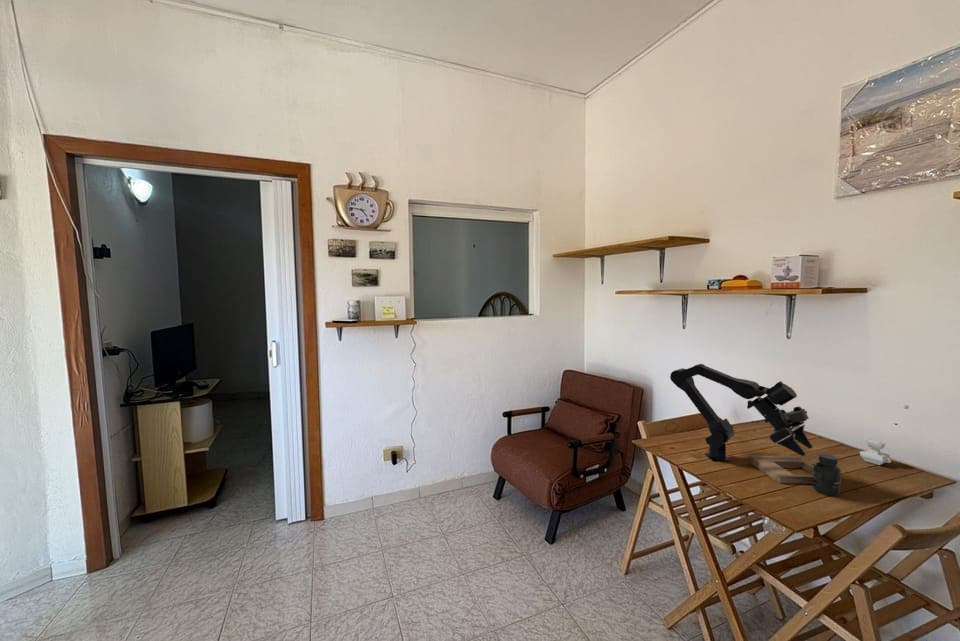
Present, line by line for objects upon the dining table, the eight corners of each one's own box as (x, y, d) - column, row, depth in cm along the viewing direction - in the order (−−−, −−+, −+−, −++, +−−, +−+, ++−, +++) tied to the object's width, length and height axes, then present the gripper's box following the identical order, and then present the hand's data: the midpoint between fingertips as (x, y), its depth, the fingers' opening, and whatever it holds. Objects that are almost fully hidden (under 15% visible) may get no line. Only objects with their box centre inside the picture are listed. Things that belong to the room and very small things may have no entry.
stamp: (894, 465, 150) (896, 444, 149) (886, 469, 147) (888, 447, 146) (863, 456, 158) (864, 436, 157) (855, 459, 155) (857, 439, 154)
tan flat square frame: (748, 461, 154) (748, 455, 154) (795, 461, 153) (796, 455, 153) (779, 483, 137) (780, 476, 137) (833, 483, 137) (833, 476, 136)
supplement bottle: (841, 498, 127) (844, 463, 126) (814, 493, 131) (816, 458, 130) (837, 489, 133) (839, 455, 132) (810, 484, 137) (813, 450, 135)
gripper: (783, 405, 132) (824, 447, 124) (798, 395, 143) (836, 433, 136) (754, 422, 138) (792, 463, 131) (771, 411, 150) (806, 448, 143)
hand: (807, 451), depth 135 cm, fingers open, 9 cm apart
